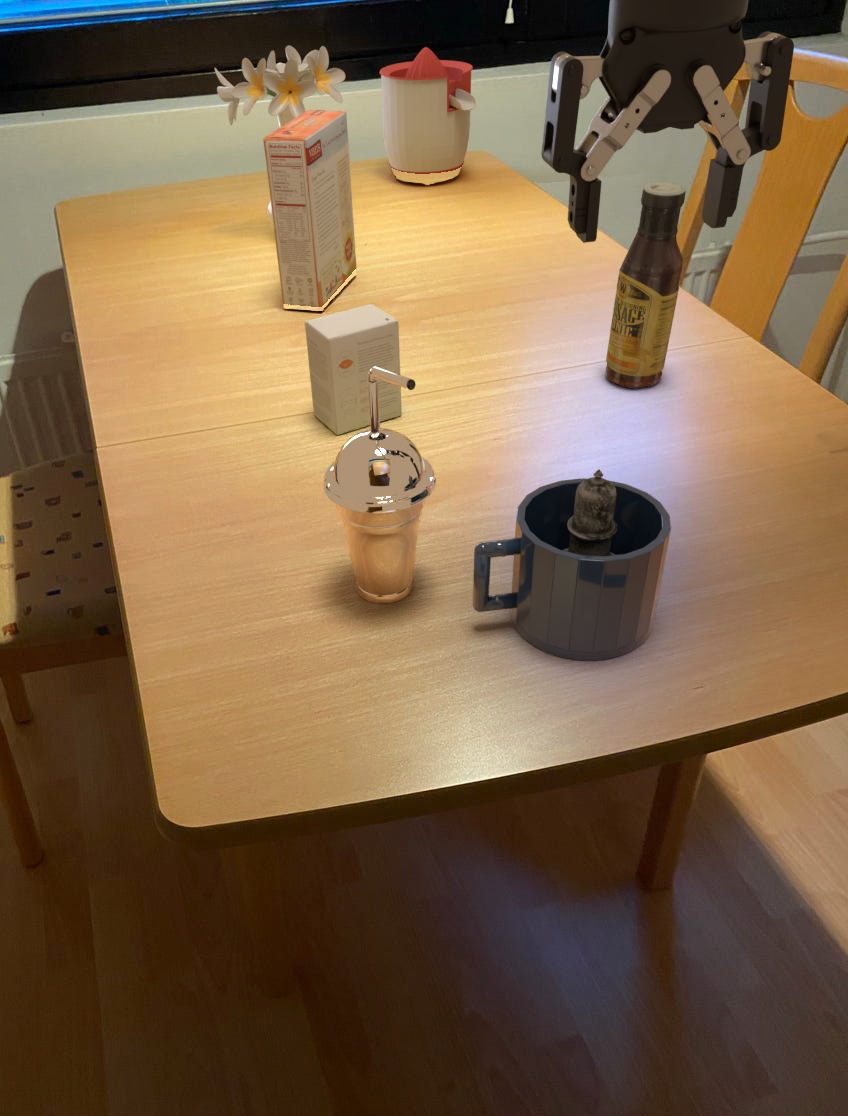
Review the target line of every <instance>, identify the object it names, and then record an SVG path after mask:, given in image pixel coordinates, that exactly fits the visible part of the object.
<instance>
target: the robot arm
mask: <svg viewBox="0 0 848 1116" xmlns="http://www.w3.org/2000/svg"><path fill="white" fill-rule="evenodd" d="M748 5H749V0H609V5H608V16H607V17H608V20H607V21H608V22H607V36H606V37H607V38H606V40H605V43H604V46H603V48H602V50H601V52H600V53H599V55H581V56H574V55H571V54H570V53H568V52H566V51H559V52H557V53H555V54H554V55H553V56H552V58H551V61H550V67H549V76H548V85H547V86H548V87H547V95H546V106H545V113H544V114H545V115H544V123H543V124H544V125H543V134H542V144H541V154H540V155H541V158H542V160H543V161H544V162H545V163H546V164H547V165H548V166H549V167H551V169H552V170H554V171H555V172H556V173H557V174H566V175H569V191H568V192H569V193H568V207H567V209H568V211H567V222H568V225H569V226H568V227H569V228H570V229H571V230H572V231H573V232H574V233H575V235H576V237H577V238H578V239H579V240H580V241H581V242H582V243H583V244H586V243H594V242H596V241H597V237H598V226H599V215H600V214H599V213H600V205H601V204H600V203H601V192H602V183H603V182H602V180H600V179H599V175H600V174H601V172H602V171H603V170H604V169H605V167H606V166H607V165H608V163H609V161H611V160H612V157H613V156H614V154H616V152H617V151H619V150H621V149H623V148H624V146H625V145H626V144H627V143H628V141H629V140H630V138H631V137H632V135H633V134H634V133H635V132H636V131H639V132H641V133H642V134H653V133H658V132H661V131H663V130H666V129H668V128H672V129H676V130H681V131H682V130H691V129H695V125H697V124H698V125H699V127H700V128H701V129H702V131H704V133H705V134H706V137H707V138H708V140H709V142H710V143H711V145H712V148H713V149H714V151H715V152H716V156H715V157H716V158H711V159H709V166H708V171H707V179H706V184H705V185H706V186H705V193H704V198H703V204H702V205H703V206H702V210H701V211H702V212H701V218H702V222H703V223H704V224H706V225H707V227H709V228H711V229H720V228H721V229H723V228H725V227H726V225H727V222H728V218H732V217H733V215H734V213H735V211H736V210H737V206H738V202H739V201H738V199H739V194H740V190H741V189H740V188H741V184H742V177H743V173H744V167H745V165H746V163H747V161H748V160H749V159H751V158H752V157H753V156H755V155H757V154H759V153H761V152H763V151H766V152H770V151H773V150H775V149H776V148H777V147H778V146H779V145H780V143H781V140H782V134H783V129H784V127H783V126H784V121H785V114H786V107H787V106H786V105H787V101H788V100H787V99H788V94H789V87H790V86H789V85H790V79H791V71H792V64H793V59H794V51H795V42H794V41H793V39H791V38H789V37H786V36H785V35H783V34H780V33H777V32H772V31H764V32H762V33H760V34H759V36H758V37H757V38H752V39H746V40H745V39H744V37H743V23H744V19H745V17H746V13H747V11H748ZM743 65H744V71H745V75H746V76H747V77H748V78H749V79H750V83H749V91H748V99H747V106H746V107H747V109H746V115H745V116H746V117H745V125H744V128H742V129H741V127H740V126H739V124H740V121H739V118H738V116H737V115H736V112H735V111H734V109H733V107H732V105H731V103H730V102H729V100H728V98H727V96H726V94H725V90H727V88H728V86H729V85H730V83H732V81H733V80H734V78H735V77H736V76H737V74H738V73H739V71H740V70H741V69H742V67H743ZM596 79H598V80H599V82H600V83H601V85H602V87H603V88H604V90H605V92H606V93H607V95H608V96H607V97H606V99H605V100H604V102H603V103H602V105H601V106H600V107H599V109H598V110H597V112H596V113H595V115H594V116H593V118H592V119H591V121H590V122H589V125H588V130H587V132H585V135H584V136H583V138H582V139H581V141H580V142H579V143H578V145H577V146H576V147H575V143H576V134H577V127H578V126H577V125H578V119H579V110H580V101H581V100H584V99H585V98H586V97H587V96H588V95H589V93H590V91H591V86H592V84H593V83H594V82H595V80H596Z"/></svg>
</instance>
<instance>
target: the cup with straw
mask: <svg viewBox="0 0 848 1116" xmlns="http://www.w3.org/2000/svg"><path fill="white" fill-rule="evenodd" d="M367 378H368V392H369V412H370V425H369V426H370V427H369V428H368V429H366V430H362V431H360V432H358V433H356V434H354V435H353V436H351V437H349V439H347V440H346V441H345V442H344V444H342V446H341V447H340V448H339V451H338V453H337V455H336V457H335V459H334V461H333V462H332V463H331V464H330V465H329V466H328V468H327V469H326V472H325V473H324V478H323V479H324V480H323V484H322V487H323V491H324V494H325V496H326V498H327V499H329V501H331V502H332V503H333V504H335V505H336V510H337V511H338V514H339V517H340V520H341V522H342V524H343V529H344V533H345V538H346V544H347V548H348V553H349V559H350V563H351V568H352V573H353V577H354V581H355V583H356V591H357V593H358V595H359V597H361V598H362V599H364V600H365V601H368V602H371V603H374V604H391V603H395V602H399V601H401V600H403V599H405V598H406V597H407V596H408V595H410V593H411V591H412V589H413V583H412V581H413V578H414V572H415V563H416V556H417V545H418V538H419V537H418V536H419V529H420V520H421V517H422V515H423V509H424V506H425V502H426V500H427V499H428V498H429V497H430V496H431V495H432V493H434V491H435V488H436V486H437V478H436V475H435V470H434V468H433V465H431V463H430V462H429V461H428V460H427V459H426V458H425V457H423V456H422V454H421V452H420V450H419V448H418V446H417V445H416V444H415V443H414V441H412V440H411V439H410V438H409V437H407V436H406V435H405V434H403V433H401V432H400V431H396V430H394V429H391V428H384V427H383V428H382V427H381V424H380V423H381V422H380V420H379V398H378V378H380V379H382V380H385V381H387V382H390V383H393V384H395V385H398V386H401V388H403V389H406V390H408V391H413V390H414V389H415V388H416V381H415V380H414V379H412V378H409V377H407V376H403V375H401V374H400V375H399V374H396V373H393V372H390V371H388V370H385V369H382V368H379V367H377V366H375V367H372V368H371V369H370V370H369V373H368V377H367Z"/></svg>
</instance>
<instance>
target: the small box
mask: <svg viewBox="0 0 848 1116" xmlns="http://www.w3.org/2000/svg"><path fill="white" fill-rule="evenodd" d="M399 323H400V322H399V320H398V319H396V318H395V317H393V316H392V315H390V314H389V313H388V312H385V311H384V310H383V309H381V308H380V307H378V306H377V305H375V304H374V303H368V304H365V305H361V306H358V307H354V308H349V309H345V310H342V311H339V312H335V313H331V314H327V315H323V316H319V317H315V318H311V319H308V320H305V321H304V329H305V341H306V349H307V358H308V370H309V381H310V388H311V391H310V392H311V399H312V400H311V401H312V408H313V410H312V411H313V416H315V418H317V419H318V420H319V421H320V422H322V423H323V425H325V427H327V428H328V429H329V430H330V431H332V433H333V434H334V435H336V436H339V435H342V434H345V433H348V432H353V431H356V430H358V429H362V428H365V427H368V426H370V412H369V392H368V378H367V377H368V373H369V370H370V369H371V368H372V367H375V366H377V367H379V368H382V369H385V370H388V371H390V372H393V373H396V374H399V375H401V357H400V355H401V354H400V353H401V352H400V327H399ZM378 398H379V420H380V423H381V422H385V421H388V420H391V419H394V418H398V417H401V416H402V413H403V411H402V409H403V408H402V407H403V406H402V387H401V386H398V385H395V384H393V383H390V382H387V381H385V380H382V379H380V378H378Z"/></svg>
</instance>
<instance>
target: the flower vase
mask: <svg viewBox="0 0 848 1116" xmlns="http://www.w3.org/2000/svg"><path fill="white" fill-rule="evenodd" d="M285 55H286V59H287V62H285V63H283V62H281V61H280V62H278V63H276V62H277V61H276V52H275V50H271V51H270V53H269V55H268V57H267V60H266V58H264V57H262V58H261V59H259V61H258V63H257V66H256V69H255V67H254V65H253V64H252V62H251V60H250V59H249V58H247V57H244V58H243V59H242V60H241V71H242V75H243V77H244V79H245V80H246V81H243V82H239V83H237V84H236V85H235V86H234V85H233V84H232V83H230V82H229V81H228V80H227V79H226V78H225V77H224V75H223V74H222V73H220V72H219V70H218V69H217V68H216V67H214V73H215V74H216V76H217V79H218V81H219V82H220V83H221V85H223V86H221V85H220V86H217V88H216V92H217V95H218V97H219V98H220V100H221V101H222V102H224V103H229V104H228V106H227V116H228V122H229V124H230V126H233V124H234V122H237V113H238V108H239V104H240V100H241V99H244V98H246V99H245V100H244V102H243V108H242V114H243V116H245V117H246V116H248V115H249V114H250V113H251V111H252V109H253V107H254V106H255V104H256V103H257V101H258V100H264V99H265V98H267V97H268V96H271V97H272V98H271V101H270V103H269V105H268V109H267V112H268V114H269V116H270V117H276V118H277V121H278V126H279V128H281V127H282V126H284V125H285V124H287V123H289V122H290V121H292V120H293V119H295V118H296V117H298V116H300V115H301V114H303V113H304V112H306V107H305V105H304V103H303V102H304V98H309V97H311V96H313V95H314V94H315V93H317V94H318V95H319V96H324V95H325V94H327V95H329V96H330V97H331V98H332V99H333V100H334V101H336V102H337V104H338V103H339V104H343V102H344V101H343V100H344V99H343V96H342V94H341V92H340V91H339V89H338V88H337V87H336V86H334V85H339V84H341V83H342V82H345V80H346V73H345V71H344V70H343V69H341V68H338V67H332V68H329V64H330V58H329V57H330V56H329V53H328V50H327V48H326V47H325V46H324V45H321V47H320V48H319V50H318V49H313V50H311V51H309V52H308V53H307V54H306V55H305V56H304V58H303V60H302V58H301V56H300V54H299V52H298V51H297V49H296V48H294V47H293V46H292V45H286V46H285ZM328 68H329V69H328ZM267 219H268V221H269V223H270V224H271V225H272V226H273V227H274V224H273V216H272V207H271V200H269V202H268V206H267Z"/></svg>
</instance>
